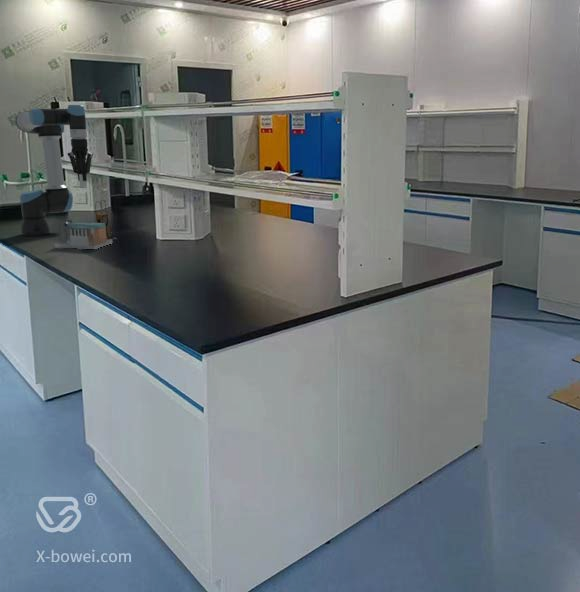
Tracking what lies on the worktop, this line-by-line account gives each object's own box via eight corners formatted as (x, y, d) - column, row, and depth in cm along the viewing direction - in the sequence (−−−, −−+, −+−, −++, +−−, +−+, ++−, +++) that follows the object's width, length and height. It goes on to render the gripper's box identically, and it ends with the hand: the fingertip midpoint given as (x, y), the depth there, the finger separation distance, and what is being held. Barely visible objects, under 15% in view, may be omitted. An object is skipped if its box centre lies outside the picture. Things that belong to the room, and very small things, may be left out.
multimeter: (113, 241, 318) (109, 202, 312) (95, 240, 320) (91, 201, 314) (125, 236, 332) (122, 198, 326) (108, 235, 334) (105, 198, 328)
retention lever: (60, 227, 304) (60, 222, 304) (68, 225, 310) (67, 221, 309) (98, 228, 299) (98, 224, 298) (105, 226, 304) (105, 222, 304)
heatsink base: (54, 248, 302) (52, 223, 299) (74, 241, 317) (71, 218, 314) (94, 250, 297) (92, 225, 293) (112, 243, 311) (110, 220, 308)
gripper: (62, 138, 297) (67, 188, 304) (86, 139, 294) (90, 189, 301) (71, 137, 304) (76, 186, 311) (95, 138, 301) (99, 187, 308)
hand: (83, 187), depth 306 cm, fingers closed
